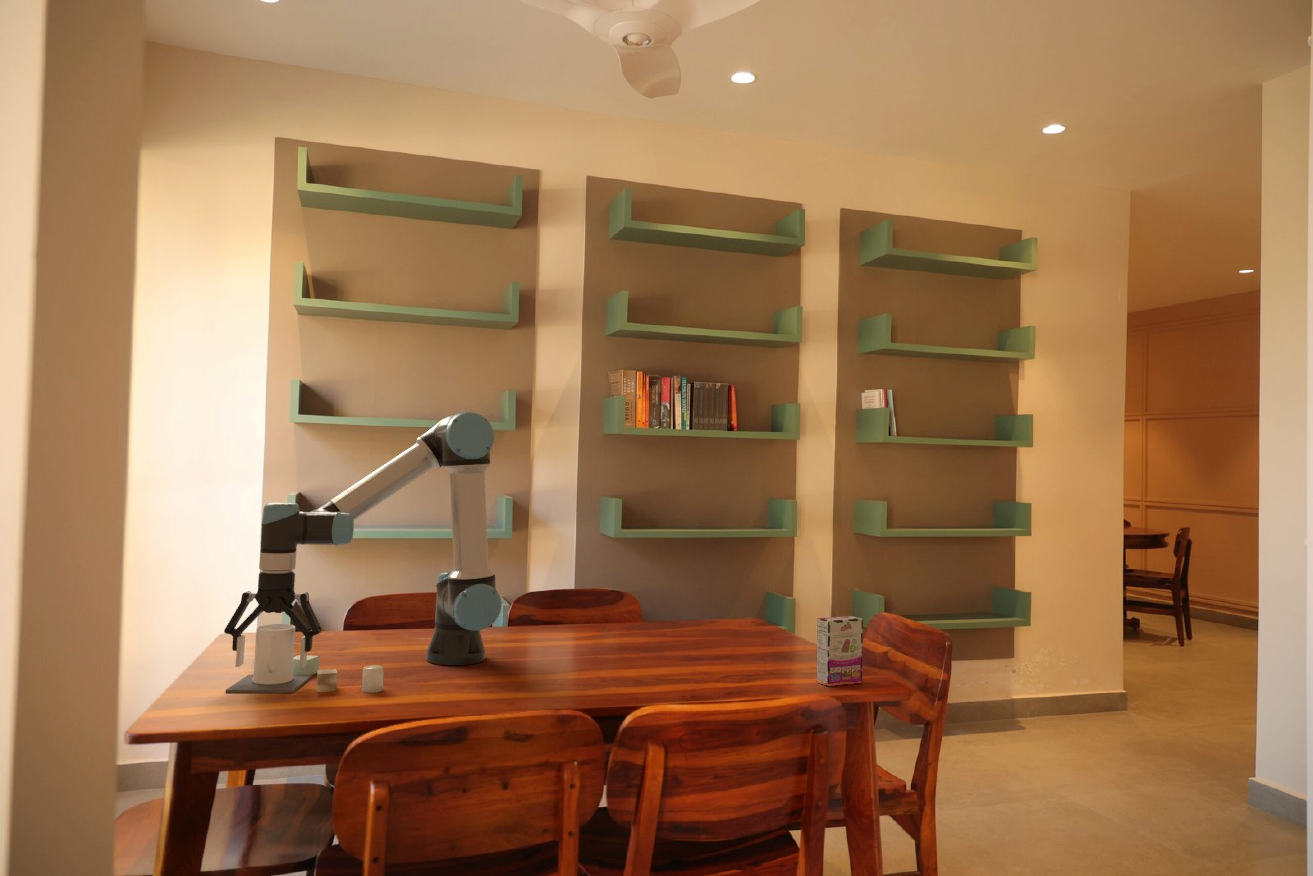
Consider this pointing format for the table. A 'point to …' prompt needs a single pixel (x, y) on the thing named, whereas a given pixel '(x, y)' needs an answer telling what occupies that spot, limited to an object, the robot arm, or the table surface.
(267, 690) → the coaster
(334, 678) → the maple block
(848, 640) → the candy bar box
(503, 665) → the table surface
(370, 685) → the beige rounded block
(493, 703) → the table surface
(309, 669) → the sage block
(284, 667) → the mug
